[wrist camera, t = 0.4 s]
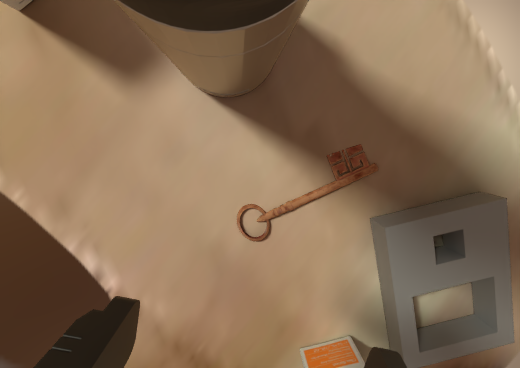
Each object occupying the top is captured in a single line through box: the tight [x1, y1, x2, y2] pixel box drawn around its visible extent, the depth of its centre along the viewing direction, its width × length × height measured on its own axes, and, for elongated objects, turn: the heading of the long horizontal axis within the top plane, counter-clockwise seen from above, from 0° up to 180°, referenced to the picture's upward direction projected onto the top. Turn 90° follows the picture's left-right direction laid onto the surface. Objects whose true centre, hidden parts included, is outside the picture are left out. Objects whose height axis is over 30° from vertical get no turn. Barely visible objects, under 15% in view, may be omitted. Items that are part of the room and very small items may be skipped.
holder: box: [370, 192, 514, 368], centre depth 30 cm, size 16×12×3 cm
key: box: [237, 144, 378, 241], centre depth 28 cm, size 6×1×15 cm
